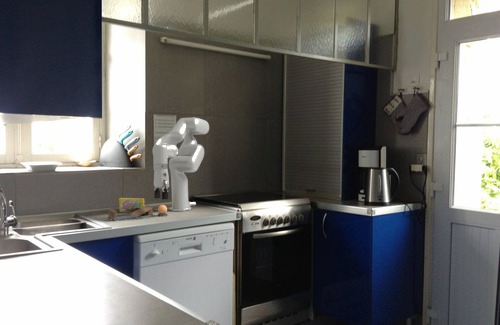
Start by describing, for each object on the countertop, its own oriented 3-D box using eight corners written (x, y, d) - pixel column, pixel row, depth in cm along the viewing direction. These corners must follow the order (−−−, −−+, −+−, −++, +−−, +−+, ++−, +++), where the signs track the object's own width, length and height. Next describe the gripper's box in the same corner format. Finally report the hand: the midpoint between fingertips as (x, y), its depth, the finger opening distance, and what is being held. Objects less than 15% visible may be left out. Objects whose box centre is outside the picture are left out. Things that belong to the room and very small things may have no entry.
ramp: (146, 214, 262) (146, 205, 261) (153, 216, 254) (153, 206, 254) (108, 218, 249) (108, 209, 249) (114, 221, 242) (113, 211, 241)
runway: (147, 214, 262) (147, 211, 262) (153, 216, 254) (153, 212, 254) (108, 218, 249) (108, 215, 249) (114, 221, 242) (114, 217, 242)
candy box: (119, 212, 272) (118, 198, 272) (121, 211, 274) (120, 197, 274) (143, 213, 267) (142, 198, 267) (145, 212, 269) (144, 198, 269)
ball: (164, 212, 259) (164, 204, 259) (168, 214, 255) (168, 204, 255) (156, 213, 256) (156, 204, 256) (160, 215, 252) (160, 205, 252)
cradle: (163, 214, 259) (163, 212, 259) (167, 215, 255) (167, 213, 255) (157, 215, 257) (157, 213, 257) (161, 216, 253) (161, 214, 253)
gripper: (174, 167, 249) (174, 199, 250) (160, 166, 263) (160, 197, 264) (161, 167, 245) (161, 200, 245) (147, 167, 259) (148, 198, 259)
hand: (161, 198), depth 254 cm, fingers open, 9 cm apart
